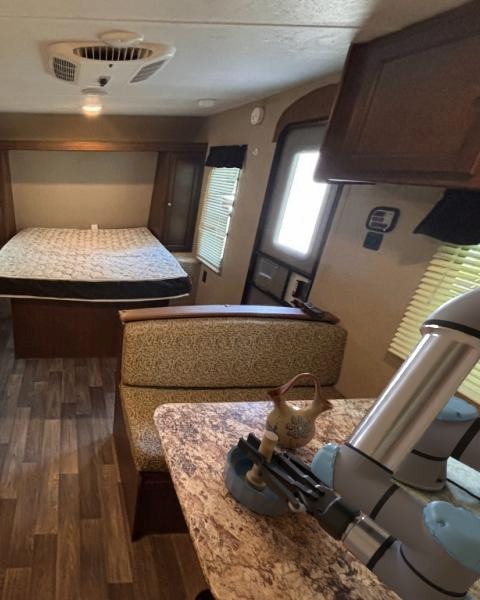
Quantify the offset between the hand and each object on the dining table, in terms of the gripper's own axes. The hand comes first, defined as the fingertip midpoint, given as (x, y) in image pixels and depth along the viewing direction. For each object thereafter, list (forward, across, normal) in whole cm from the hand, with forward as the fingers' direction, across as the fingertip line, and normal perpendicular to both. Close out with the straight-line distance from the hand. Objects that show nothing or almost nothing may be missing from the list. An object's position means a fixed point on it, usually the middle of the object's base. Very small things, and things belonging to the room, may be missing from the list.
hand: (244, 439), depth 79 cm
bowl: (-5, +2, -12) cm, 13 cm away
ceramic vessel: (0, +22, -12) cm, 25 cm away
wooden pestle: (-5, 0, -10) cm, 11 cm away
